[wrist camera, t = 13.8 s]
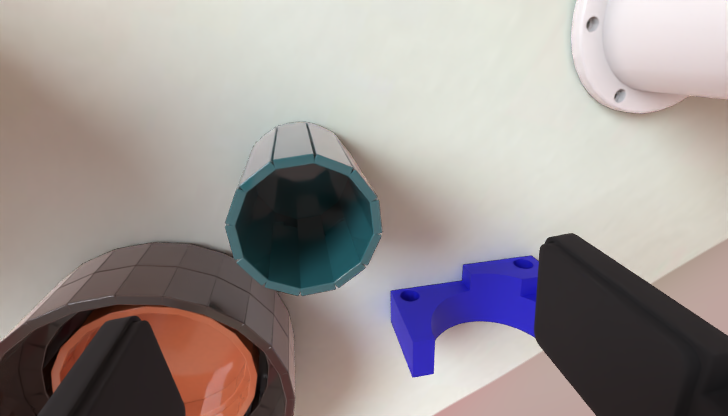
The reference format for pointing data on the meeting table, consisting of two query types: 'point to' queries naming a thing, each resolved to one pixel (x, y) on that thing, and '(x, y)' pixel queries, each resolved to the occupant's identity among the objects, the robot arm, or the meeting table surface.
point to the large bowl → (151, 287)
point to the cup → (303, 212)
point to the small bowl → (182, 356)
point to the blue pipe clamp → (464, 306)
